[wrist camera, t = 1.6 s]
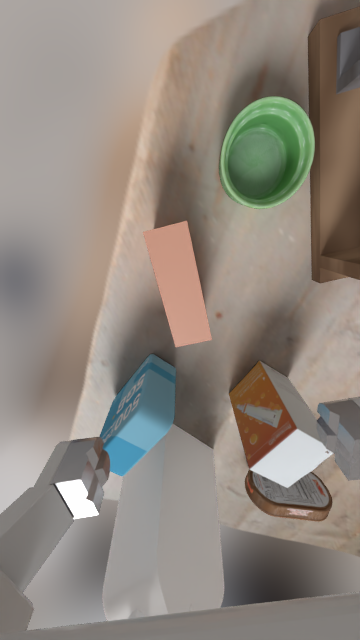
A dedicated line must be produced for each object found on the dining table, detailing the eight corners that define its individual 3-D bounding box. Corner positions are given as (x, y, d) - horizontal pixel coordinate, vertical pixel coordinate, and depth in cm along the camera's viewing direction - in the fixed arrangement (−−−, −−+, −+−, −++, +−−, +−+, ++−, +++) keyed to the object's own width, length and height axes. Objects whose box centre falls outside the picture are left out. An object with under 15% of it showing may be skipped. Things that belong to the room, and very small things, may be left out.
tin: (239, 467, 46) (251, 517, 38) (243, 456, 44) (257, 506, 37) (311, 475, 46) (337, 525, 39) (317, 465, 45) (345, 515, 37)
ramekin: (230, 224, 28) (239, 224, 24) (201, 143, 25) (206, 128, 21) (302, 188, 27) (324, 182, 23) (281, 98, 24) (302, 72, 19)
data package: (153, 349, 35) (140, 406, 24) (176, 364, 36) (175, 426, 25) (113, 398, 39) (87, 467, 28) (136, 410, 40) (119, 482, 29)
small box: (258, 359, 36) (298, 427, 24) (288, 377, 37) (340, 451, 25) (227, 393, 38) (248, 471, 26) (256, 409, 40) (288, 490, 28)
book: (185, 221, 28) (187, 220, 20) (204, 310, 33) (211, 339, 24) (154, 229, 28) (142, 232, 20) (176, 316, 33) (175, 347, 25)
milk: (172, 480, 47) (164, 746, 23) (127, 454, 44) (64, 729, 20) (213, 449, 43) (253, 726, 20) (166, 419, 41) (147, 701, 17)
